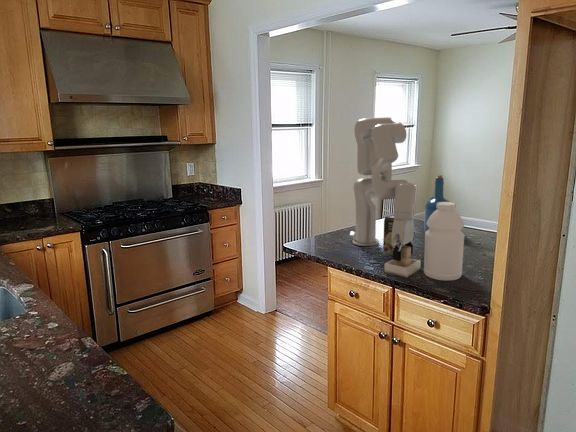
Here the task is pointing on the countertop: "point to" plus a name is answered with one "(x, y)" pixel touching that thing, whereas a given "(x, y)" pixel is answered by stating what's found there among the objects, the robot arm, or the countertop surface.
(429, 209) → the wine bottle
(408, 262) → the tan rounded cylinder
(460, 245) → the bottle
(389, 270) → the white square tray
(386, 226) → the coffee box
